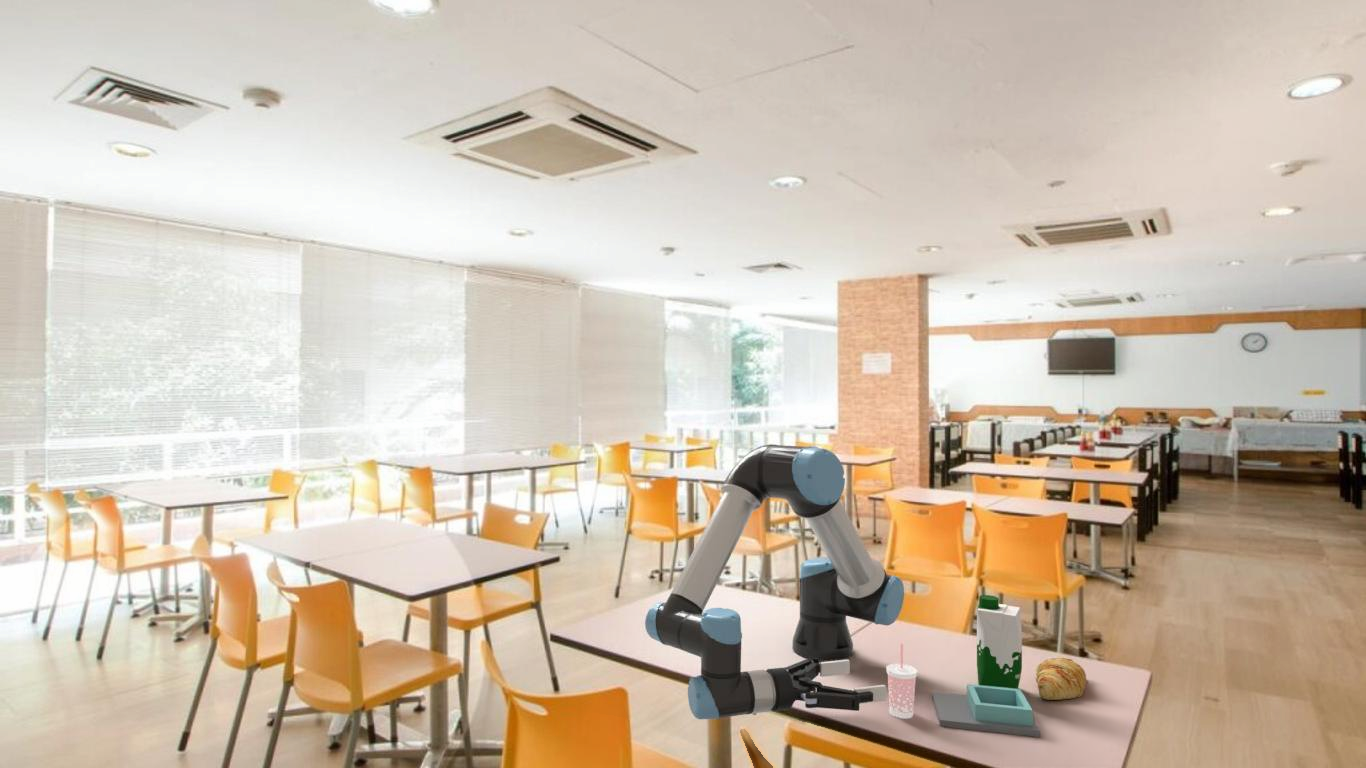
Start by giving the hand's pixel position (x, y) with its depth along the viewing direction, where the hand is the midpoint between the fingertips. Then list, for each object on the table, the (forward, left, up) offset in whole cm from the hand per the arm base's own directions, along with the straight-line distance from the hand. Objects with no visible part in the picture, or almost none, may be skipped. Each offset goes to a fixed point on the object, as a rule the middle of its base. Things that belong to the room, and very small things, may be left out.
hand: (866, 678), depth 143 cm
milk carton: (+29, +22, -8) cm, 38 cm away
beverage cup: (+7, +4, -8) cm, 12 cm away
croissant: (+42, +26, -8) cm, 51 cm away
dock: (+23, +7, -8) cm, 26 cm away
